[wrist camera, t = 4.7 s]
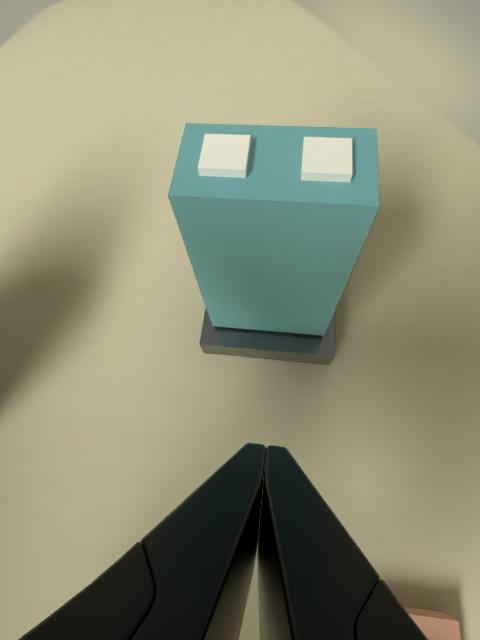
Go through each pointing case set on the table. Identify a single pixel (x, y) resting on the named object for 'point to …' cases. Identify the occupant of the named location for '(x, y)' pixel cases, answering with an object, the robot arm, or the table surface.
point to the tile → (435, 624)
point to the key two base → (268, 343)
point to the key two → (274, 219)
